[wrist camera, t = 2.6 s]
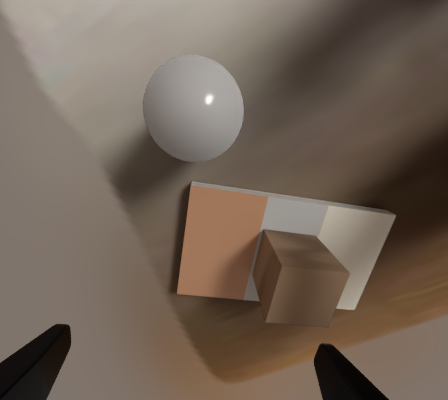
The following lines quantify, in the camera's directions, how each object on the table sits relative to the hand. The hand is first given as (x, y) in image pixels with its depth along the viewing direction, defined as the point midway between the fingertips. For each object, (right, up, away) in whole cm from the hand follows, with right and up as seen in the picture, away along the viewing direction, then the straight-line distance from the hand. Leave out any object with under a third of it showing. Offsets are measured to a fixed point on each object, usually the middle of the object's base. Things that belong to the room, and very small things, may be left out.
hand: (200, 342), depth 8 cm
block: (+6, 0, +11) cm, 13 cm away
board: (+6, +1, +13) cm, 14 cm away
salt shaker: (-1, +11, +9) cm, 14 cm away
